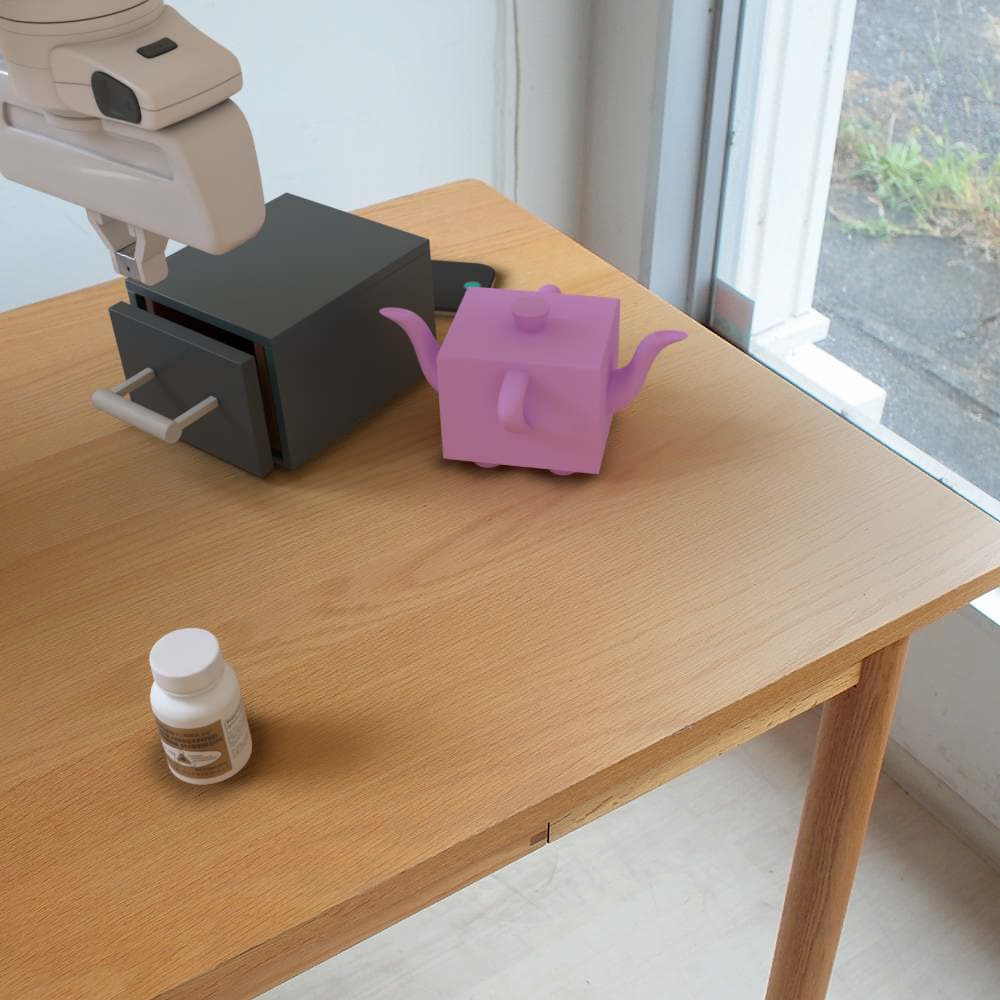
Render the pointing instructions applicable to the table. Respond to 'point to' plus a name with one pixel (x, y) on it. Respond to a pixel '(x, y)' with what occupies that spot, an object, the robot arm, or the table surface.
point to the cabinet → (312, 313)
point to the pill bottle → (198, 707)
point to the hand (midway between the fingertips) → (142, 276)
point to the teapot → (530, 376)
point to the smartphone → (457, 283)
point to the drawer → (193, 385)
